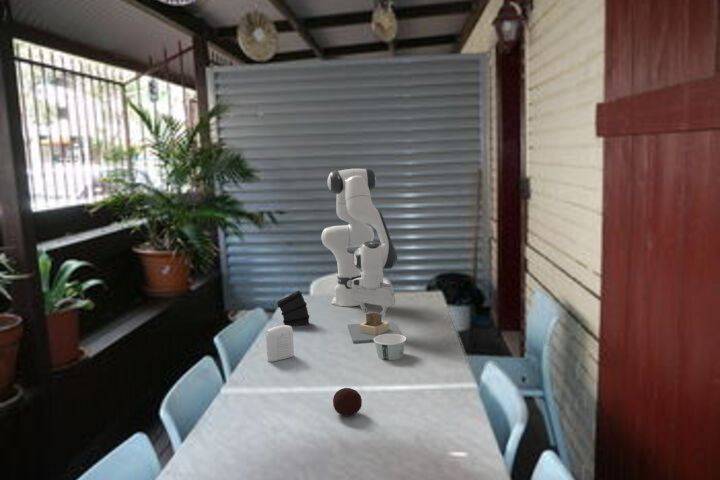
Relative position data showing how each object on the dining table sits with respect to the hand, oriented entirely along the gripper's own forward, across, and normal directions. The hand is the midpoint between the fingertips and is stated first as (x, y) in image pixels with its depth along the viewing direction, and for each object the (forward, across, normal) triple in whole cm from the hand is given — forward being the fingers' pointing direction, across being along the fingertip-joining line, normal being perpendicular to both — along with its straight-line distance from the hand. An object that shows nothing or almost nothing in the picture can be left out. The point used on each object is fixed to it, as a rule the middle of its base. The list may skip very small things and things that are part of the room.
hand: (373, 314), depth 241 cm
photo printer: (+8, +11, +43) cm, 45 cm away
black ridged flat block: (+8, +37, +10) cm, 39 cm away
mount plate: (+8, 0, 0) cm, 8 cm away
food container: (+8, -22, +19) cm, 30 cm away
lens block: (+7, 0, 0) cm, 7 cm away
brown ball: (+7, -39, +65) cm, 76 cm away
